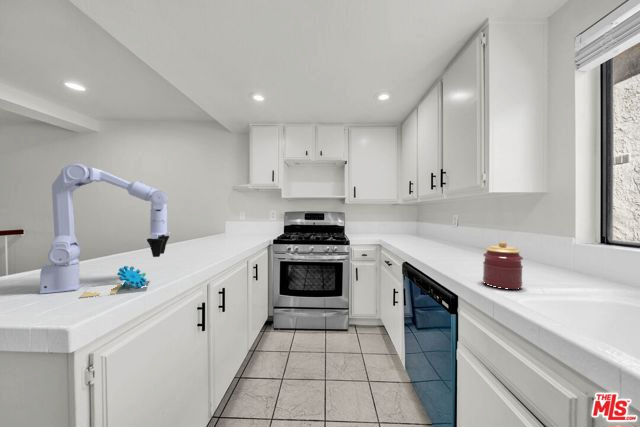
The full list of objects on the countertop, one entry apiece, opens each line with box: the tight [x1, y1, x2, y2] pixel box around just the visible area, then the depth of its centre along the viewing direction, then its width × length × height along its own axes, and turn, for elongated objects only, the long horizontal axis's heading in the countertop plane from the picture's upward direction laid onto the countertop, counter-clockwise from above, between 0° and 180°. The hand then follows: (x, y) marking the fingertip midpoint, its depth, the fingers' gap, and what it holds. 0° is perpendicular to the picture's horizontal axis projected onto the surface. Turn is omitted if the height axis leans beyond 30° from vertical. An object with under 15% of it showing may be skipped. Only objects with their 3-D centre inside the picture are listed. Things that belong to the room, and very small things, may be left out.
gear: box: [117, 265, 147, 288], centre depth 97 cm, size 11×6×10 cm
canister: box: [482, 240, 524, 289], centre depth 106 cm, size 13×13×18 cm
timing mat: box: [78, 280, 151, 300], centre depth 95 cm, size 18×15×1 cm
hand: (158, 255), depth 106 cm, fingers open, 7 cm apart
